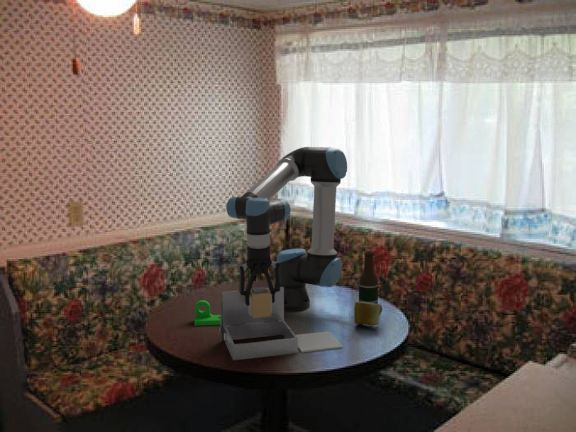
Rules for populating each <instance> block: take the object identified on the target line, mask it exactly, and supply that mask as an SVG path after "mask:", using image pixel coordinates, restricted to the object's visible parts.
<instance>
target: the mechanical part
mask: <svg viewBox="0 0 576 432" xmlns="http://www.w3.org/2000/svg"><path fill="white" fill-rule="evenodd" d="M200 307H205V310H203V311H202V310H200ZM194 315H195V316H194V327H197V326H221V318H220V314H212V313H211V305H210V303H209V302H208V301H207V300H204V299H201V300H199V301H197V302H196V304H195V307H194Z"/></svg>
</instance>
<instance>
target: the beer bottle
mask: <svg viewBox="0 0 576 432" xmlns="http://www.w3.org/2000/svg"><path fill="white" fill-rule="evenodd" d="M374 255H375V253H374V251H372V250H366V251H364V262H363V263H364V266H363V270H362V272H361V274H360V276H359V278H358V302H367V303H373V304H375V303H376V304H379V279H378V277H377V275H376V273H375V270H374V266H375V265H374Z"/></svg>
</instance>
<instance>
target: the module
mask: <svg viewBox="0 0 576 432" xmlns="http://www.w3.org/2000/svg"><path fill="white" fill-rule="evenodd" d="M267 288H268V287H265V286H256V287H252V289H251V292H250V295H251V296H252V317H253V318H259V317H268V316H271V293H270V292H269V290H268V289H267Z"/></svg>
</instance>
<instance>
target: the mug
mask: <svg viewBox="0 0 576 432" xmlns="http://www.w3.org/2000/svg"><path fill="white" fill-rule="evenodd" d="M353 309H354V315H353V316H354V323H355V325H365V326H370V327H373V326H378V325H379V317H380V316H381V314H382V312H383V306H382V304H381V303H378V304H376V303H375V304H373V303H367V302H359V301H355V302H354V308H353Z"/></svg>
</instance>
